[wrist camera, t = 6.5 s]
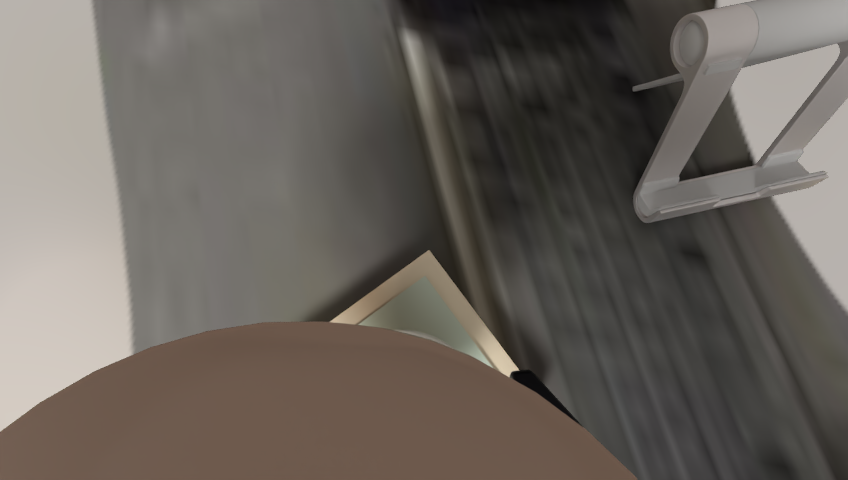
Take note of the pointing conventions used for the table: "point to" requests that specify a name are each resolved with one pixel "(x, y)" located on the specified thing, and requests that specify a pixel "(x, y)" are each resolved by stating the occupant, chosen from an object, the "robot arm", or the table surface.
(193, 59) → the table surface
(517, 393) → the tumbler
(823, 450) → the table surface
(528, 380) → the robot arm
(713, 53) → the portable electronic device stand
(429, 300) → the square tray
